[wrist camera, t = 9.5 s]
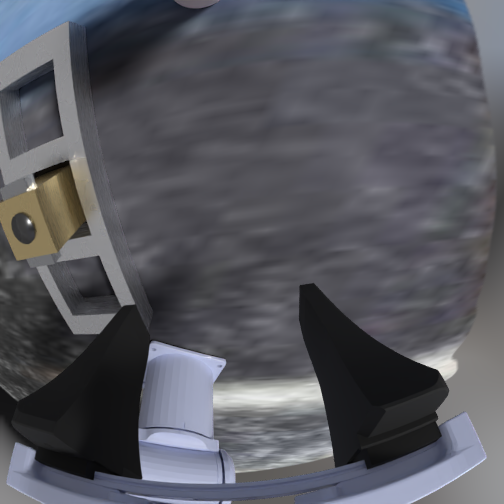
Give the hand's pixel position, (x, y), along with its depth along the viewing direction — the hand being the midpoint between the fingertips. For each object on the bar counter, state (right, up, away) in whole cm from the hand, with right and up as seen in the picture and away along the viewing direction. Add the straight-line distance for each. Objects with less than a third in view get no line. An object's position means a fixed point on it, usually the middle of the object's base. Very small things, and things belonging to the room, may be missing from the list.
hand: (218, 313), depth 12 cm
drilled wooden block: (-12, +7, +6) cm, 15 cm away
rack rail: (-13, +7, +6) cm, 15 cm away
